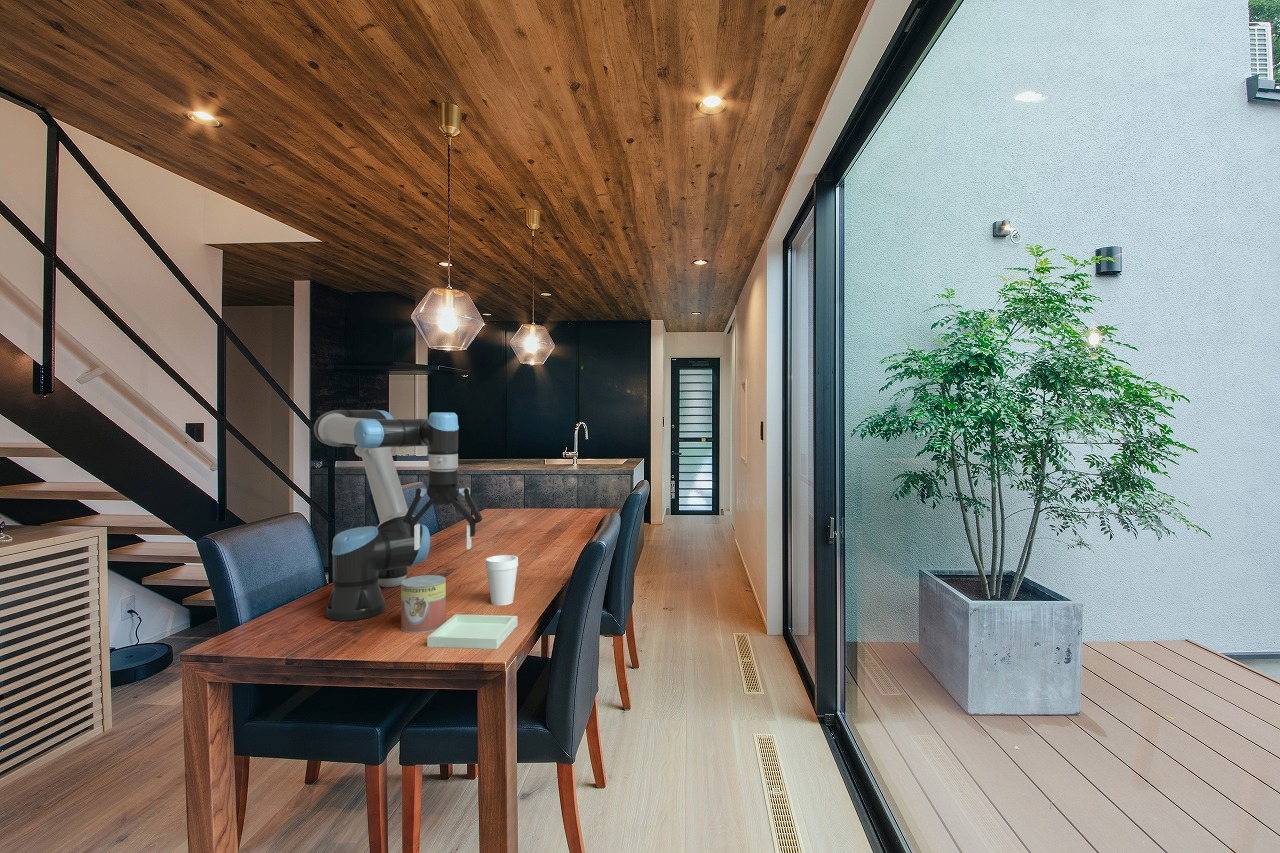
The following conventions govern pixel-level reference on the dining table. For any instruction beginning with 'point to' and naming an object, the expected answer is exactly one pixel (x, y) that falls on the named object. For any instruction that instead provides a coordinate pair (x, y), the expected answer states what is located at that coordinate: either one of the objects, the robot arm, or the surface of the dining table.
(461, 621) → the tray
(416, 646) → the dining table surface
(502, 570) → the foam cup
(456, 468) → the robot arm
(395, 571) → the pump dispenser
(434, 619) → the canned food
